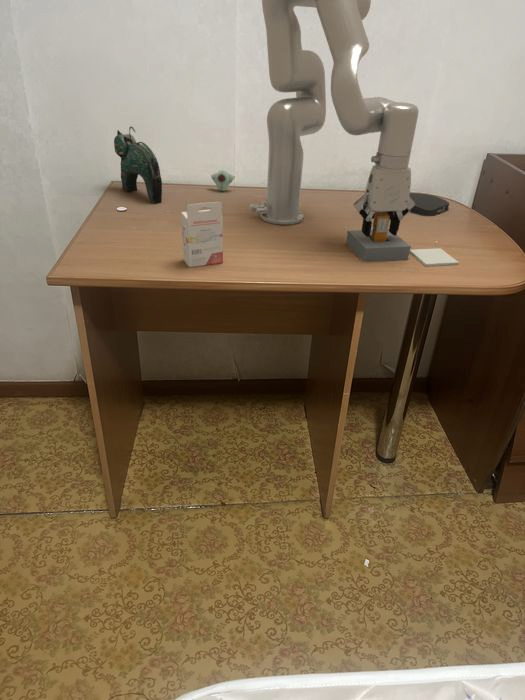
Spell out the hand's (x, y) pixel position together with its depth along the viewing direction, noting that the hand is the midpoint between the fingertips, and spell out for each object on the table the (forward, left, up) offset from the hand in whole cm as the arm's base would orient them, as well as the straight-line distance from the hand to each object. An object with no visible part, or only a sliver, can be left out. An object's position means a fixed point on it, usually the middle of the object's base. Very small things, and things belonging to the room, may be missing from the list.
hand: (379, 233), depth 131 cm
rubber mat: (+13, -6, -5) cm, 15 cm away
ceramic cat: (-57, +51, -5) cm, 77 cm away
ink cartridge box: (-45, -1, -5) cm, 45 cm away
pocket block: (0, 0, -5) cm, 5 cm away
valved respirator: (-31, +54, -5) cm, 62 cm away
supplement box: (0, 0, -5) cm, 5 cm away
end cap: (+13, +27, -5) cm, 30 cm away
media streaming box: (+30, +33, -5) cm, 45 cm away
